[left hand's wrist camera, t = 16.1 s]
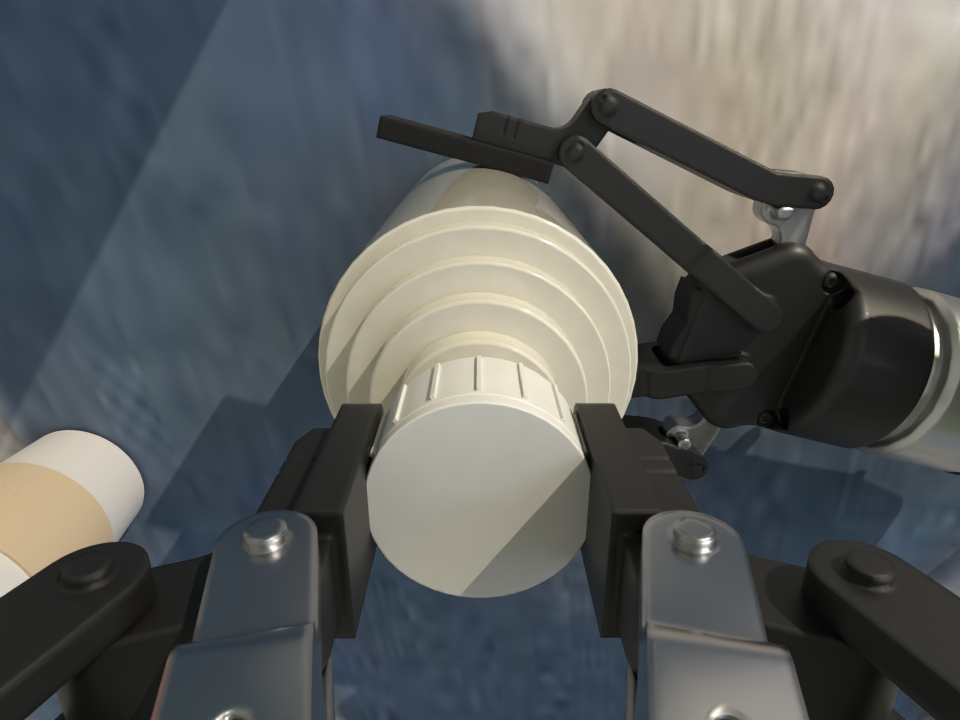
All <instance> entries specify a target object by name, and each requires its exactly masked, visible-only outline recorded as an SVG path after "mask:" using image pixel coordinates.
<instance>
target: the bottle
mask: <svg viewBox="0 0 960 720" xmlns="http://www.w3.org/2000/svg"><path fill="white" fill-rule="evenodd" d="M477 355H481V357H490V358H498V359H503V360H507V361H511V362H514V363H517V364H518V363H519V362H520V363H522V364H523V366H525V367H527V368H529V369H531V370H533V371H534V372H536V373H538V374H539V375H541V376H542V377H543V378H545V379H546V380H548V381H549V382H550V383H551V384H553V383H554V384H556V385H557V388H558V391H559V392H560V394H561V395H562V396H563V397H564V399H565V400H566V402H567V404H568V405H569V407H570V409H571V411H572V413H573V410H574V406H575V404H576V403H614V404H615V405H616V408H617V410H618V412H619V414H620V416H621V419H622V418H623V416H624V414H625V411H626V409H627V406H628V404H629V401H630V399H631V396H632V392H633V388H634V384H635V380H636V373H637V365H638V340H637V334H636V328H635V323H634V319H633V316H632V313H631V309H630V306H629V303H628V301H627V299H626V297H625V295H624V293H623V290H622V288H621V286H620V284H619V283H618V281H617V280H616V278H615V277H614V275H613V274H612V272H611V271H610V269H609V268H608V266H607V265H606V264H605V263H604V262H603V260H602V259H601V258H600V257H599V256H598V254H597V253H596V252H595V251H594V250H593V248H592V247H591V246H590V245H589V244H588V242H587V241H586V240H585V239H584V238H583V236H582V235H581V234H580V233H579V232H578V230H577V229H576V228H575V227H574V226H573V224H572V223H571V222H570V221H569V219H568V218H567V217H566V216H565V215H564V213H563V212H562V211H561V210H560V209H559V207H558V206H557V205H556V204H555V203H554V201H553V200H552V199H551V198H550V197H549V195H548V194H547V193H546V192H545V191H544V189H543V188H542V187H541V186H540V185H539V184H538V182H537V181H536V180H532V179H528V178H525V177H521V176H517V175H514V174H510V173H506V172H503V171H499V170H495V169H491V168H488V167H484V166H480V165H477V164H473V163H469V162H465V161H462V160H458V159H454V158H452V159H449V160H447V161H444V162H442V163H440V164H438V165H437V166H435V167H433V168H432V169H430V170H429V171H428V172H427V173H425V174H424V175H423V176H422V177H421V178H420V179H419V180H418V181H417V182H416V183H415V185H414V186H413V187H412V188H411V190H410V191H409V192H408V193H407V195H406V196H405V197H404V198H403V200H402V201H401V202H400V203H399V205H398V206H397V207H396V208H395V210H394V211H393V212H392V213H391V215H390V216H389V217H388V218H387V220H386V221H385V222H384V223H383V225H382V226H381V227H380V228H379V230H378V231H377V232H376V233H375V235H374V236H373V237H372V238H371V240H370V241H369V242H368V243H367V245H366V246H365V247H364V248H363V250H362V251H361V252H360V253H359V255H358V256H357V257H356V258H355V260H354V261H353V262H352V263H351V265H350V266H349V268H348V269H347V270H346V272H345V273H344V274H343V276H342V277H341V279H340V280H339V282H338V284H337V286H336V288H335V290H334V291H333V293H332V295H331V297H330V299H329V302H328V305H327V308H326V311H325V313H324V316H323V320H322V325H321V330H320V335H319V349H318V361H319V372H320V379H321V383H322V388H323V392H324V396H325V398H326V401H327V403H328V406H329V409H330V411H331V414H332V415H333V417H334V419H335V418H336V416H337V413H338V411H339V409H340V407H341V405H342V404H344V403H381V404H382V407H383V412H384V415H385V416H386V414H387V411H388V409H389V407H390V406H391V404H392V402H393V400H394V399H395V398H396V396H397V395H398V394H399V393H400V390H401V387H402V386H403V385H404V384H405V385H407V384H408V383H409V382H410V381H412V380H413V379H414V378H416V377H417V376H418V375H420V374H421V373H423V372H425V371H427V370H428V369H430V368H432V367H434V366H435V364H437V363H440V364H442V363H445V362H448V361H452V360H456V359H461V358H469V357H477Z"/></svg>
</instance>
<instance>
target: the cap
mask: <svg viewBox="0 0 960 720" xmlns="http://www.w3.org/2000/svg"><path fill="white" fill-rule="evenodd" d="M586 456H587V450H586V447H585V443H584V440H583V437H582V434H581V431H580V427H579V424H578V421H577V418H576V414H574V415H573V413H572V411H571V409H570V407H569V405H568V404H567V402H566V400H565V399H564V397H563V396H562V395H561V394H560V392H559V391H558V388H557V385H556V384H554V383H553V384H551V383H550V382H549V381H548V380H546V379H545V378H543V377H542V376H541V375H539V374H538V373H536V372H534V371H533V370H531V369H529V368H527V367H525V366H523V364H522V363H520V362H519V363H518V364H517V363H514V362H511V361H507V360H503V359H498V358H490V357H481V355H477V357H469V358H461V359H456V360H452V361H448V362H445V363H442V364H440V363H437V364H435V366H434V367H432V368H430V369H428V370H427V371H425V372H423V373H421V374H420V375H418V376H417V377H416V378H414V379H413V380H412V381H410V382H409V383H408V384H407V385H405V384H404V385H403V386H402V387H401V390H400V393H399V394H398V395H397V396H396V398H395V399H394V400H393V402H392V404H391V406H390V407H389V409H388V411H387V414H386V416H385V415H382V417H381V420H380V424H379V427H378V430H377V433H376V436H375V439H374V442H373V446H372V449H371V452H370V457H372V460H371V464H370V467H369V470H368V473H367V477H366V483H367V497H368V509H369V522H370V532H371V535H372V537H373V539H374V541H375V543H376V544H377V546H378V548H379V549H380V551H381V552H382V553H383V554H384V556H385V557H386V558H387V559H388V560H389V561H390V562H391V563H392V564H393V565H394V566H395V567H396V568H397V569H398V570H399V571H401V572H402V573H403V574H405V575H406V576H407V577H409V578H411V579H412V580H414V581H416V582H417V583H419V584H421V585H424V586H426V587H428V588H430V589H433V590H436V591H439V592H442V593H445V594H450V595H455V596H461V597H471V598H488V597H498V596H504V595H509V594H513V593H517V592H520V591H523V590H526V589H529V588H531V587H533V586H535V585H538V584H540V583H542V582H543V581H545V580H547V579H548V578H550V577H552V576H553V575H554V574H556V573H557V572H558V571H560V570H561V569H562V568H563V567H564V566H565V565H566V564H567V563H568V562H569V561H570V560H571V559H572V558H573V557H574V556H575V555H576V553H577V552H578V551H579V549H580V548H581V546H582V545H583V543H584V541H585V539H586V527H587V514H588V501H589V488H590V473H591V472H590V467H589V464H588V461H587V457H586Z"/></svg>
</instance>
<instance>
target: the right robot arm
mask: <svg viewBox="0 0 960 720" xmlns="http://www.w3.org/2000/svg"><path fill="white" fill-rule="evenodd" d="M608 131H609V132H611V133H613V134H615V135H617V136H619V137H621V138H623V139H625V140H627V141H629V142H631V143H633V144H635V145H637V146H639V147H641V148H643V149H645V150H647V151H649V152H651V153H653V154H655V155H657V156H659V157H661V158H663V159H665V160H667V161H669V162H671V163H673V164H675V165H677V166H679V167H681V168H683V169H685V170H687V171H689V172H691V173H693V174H695V175H697V176H699V177H701V178H703V179H705V180H707V181H709V182H711V183H713V184H715V185H717V186H719V187H721V188H723V189H725V190H727V191H730V192H732V193H734V194H737V195H740V196H743V197H746V198H749V199H752V200H754V203H753V214H754V215H755V217H756V218H757V219H758V220H761V221H763V222H766V223H767V224H768V225H769V226H770V228H771V230H772V238H770V239H767V240H764V241H762V242H759V243H756V244H753V245H751V246H748V247H745V248H743V249H740V250H737V251H734V252H732V253H729V254H726V255H724V256H721V255H719V254H718V253H717V252H716V251H715V250H713V249H712V248H711V247H709V246H708V245H707V244H706V243H704V242H703V241H702V240H701V239H700V238H699V237H697V236H696V235H695V234H694V233H693V232H692V231H691V230H689V229H688V228H687V227H686V226H685V225H684V224H683V223H681V222H680V221H679V220H678V219H677V218H676V217H675V216H674V215H672V214H671V213H670V212H669V211H668V210H667V209H666V208H664V207H663V206H662V205H661V204H660V203H659V202H658V201H656V200H655V199H654V198H653V197H652V196H651V195H650V194H648V193H647V192H646V191H645V190H644V189H643V188H642V187H640V186H639V185H638V184H637V183H636V182H635V181H634V180H632V179H631V178H630V177H629V176H628V175H627V174H626V173H624V172H623V171H622V170H621V169H620V168H619V167H618V166H616V165H615V164H614V163H613V162H612V161H611V160H610V159H608V158H607V157H606V156H605V155H604V154H603V153H602V152H600V151H599V150H598V149H597V148H596V147H597V146H598V144H599V143H600V141H601V140H602V139H603V137H604V136H605V134H606V133H607V132H608ZM376 137H377V138H380V139H384V140H388V141H391V142H395V143H399V144H402V145H406V146H410V147H414V148H417V149H421V150H425V151H428V152H432V153H436V154H440V155H443V156H447V157H451V158H454V159H458V160H462V161H465V162H469V163H473V164H477V165H480V166H484V167H488V168H491V169H495V170H499V171H503V172H506V173H510V174H514V175H517V176H521V177H525V178H528V179H532V180H536V181H540V182H543V183H547V184H548V182H549V179H550V175H551V172H552V168H553V165H554V164H557V165H560V166H564V167H565V168H566V169H567V170H568V171H570V172H571V173H572V174H573V175H574V176H575V177H577V178H578V179H579V180H580V181H581V182H583V183H584V184H585V185H586V186H587V187H588V188H590V189H591V190H592V191H593V192H594V193H595V194H597V195H598V196H599V197H600V198H601V199H602V200H604V201H605V202H606V203H607V204H608V205H609V206H611V207H612V208H613V209H614V210H615V211H616V212H618V213H619V214H620V215H621V216H622V217H624V218H625V219H626V220H627V221H628V222H629V223H631V224H632V225H633V226H634V227H635V228H636V229H638V230H639V231H640V232H641V233H642V234H643V235H645V236H646V237H647V238H648V239H649V240H650V241H652V242H653V243H654V244H655V245H656V246H657V247H659V248H660V249H661V250H662V251H663V252H665V253H666V254H667V255H668V256H669V257H670V258H671V259H672V260H674V261H675V262H676V263H677V264H678V265H679V266H681V267H682V268H683V269H684V270H685V271H687V272H688V273H689V274H688V275H687V276H686V277H682V276H681V278H680V281H679V283H678V286H677V288H676V291H675V296H674V305H673V311H672V313H671V314H670V315H669V317H668V318H667V320H666V321H665V322H664V324H663V325H662V327H661V330H660V333H659V335H658V338H657V340H656V342H650V343H644V344H638V365H637V373H636V380H635V384H634V388H633V392H632V396H631V398H633V397H640V396H647V397H650V398H653V399H664V398H671V397H678V396H685V395H687V397H688V398H689V399H690V400H691V402H692V403H693V404H694V406H695V407H696V408H697V411H696V412H695V413H694V414H692V415H691V416H688V417H676V416H675V417H674V416H672V415H670V416H667V417H666V418H665V419H664V422H661V421H658V420H656V419H652V418H647V417H640V416H629V415H624V416H623V418H622V421H623V423H624V425H625V427H626V428H643V429H644V430H646V431H647V432H648V433H650V434H651V435H653V436H654V437H655V438H657V439H658V440H659V441H661V443H662V445H663V446H664V448H665V450H666V452H667V454H668V456H669V457H670V458H669V459H670V461H672V463H673V465H674V467H675V469H676V470H677V474H679V475H680V476H683V477H685V478H688V479H692V480H693V479H698V478H700V477H702V476H703V475H704V474H705V473H706V472H707V470H708V463H707V462H706V460H705V458H704V457H703V455H704V453H705V452H706V450H707V449H708V447H709V446H710V444H711V443H712V441H713V440H714V438H715V437H716V435H717V434H718V432H719V431H720V429H721V428H732V427H737V426H741V425H757V426H761V427H764V428H767V429H770V430H774V431H777V432H781V433H785V434H789V435H793V436H797V437H802V438H806V439H810V440H814V441H818V442H822V443H827V444H831V445H835V446H839V447H845V448H855V449H857V450H859V451H861V452H863V453H866V454H871V455H875V456H880V457H884V458H889V459H893V460H897V461H902V462H906V463H911V464H915V465H920V466H924V467H928V468H933V469H937V470H942V471H945V472H948V473H952V474H956V475H960V298H957V297H953V296H950V295H946V294H943V293H939V292H935V291H932V290H927V289H923V288H919V287H912V288H911V287H910V286H908V285H906V284H905V283H902V282H899V281H895V280H892V279H888V278H884V277H880V276H877V275H873V274H869V273H866V272H862V271H858V270H854V269H851V268H847V267H843V266H839V265H836V264H832V263H828V262H825V261H821V260H820V259H819V258H818V257H817V256H816V255H815V254H814V253H813V252H812V250H811V249H810V248H808V247H807V246H805V243H806V239H807V236H808V232H809V228H810V225H811V221H812V217H813V214H814V210H815V209H820V208H822V207H824V206H826V205H827V204H828V203H829V202H830V200H831V198H832V196H833V193H834V187H833V184H832V182H831V181H830V180H829V179H828V178H825V177H821V176H816V175H811V174H806V173H801V172H796V171H790V170H778V169H769V168H767V167H765V166H763V165H761V164H760V163H758V162H756V161H754V160H752V159H750V158H748V157H746V156H744V155H742V154H740V153H738V152H736V151H734V150H732V149H730V148H728V147H726V146H725V145H723V144H721V143H719V142H717V141H715V140H713V139H711V138H709V137H707V136H705V135H703V134H701V133H699V132H697V131H695V130H693V129H691V128H689V127H688V126H686V125H684V124H682V123H680V122H678V121H676V120H674V119H672V118H670V117H668V116H666V115H664V114H662V113H660V112H658V111H656V110H654V109H653V108H651V107H649V106H647V105H645V104H643V103H641V102H639V101H637V100H635V99H633V98H631V97H629V96H627V95H625V94H623V93H621V92H619V91H618V90H615V89H611V88H609V89H600V90H596V91H592V92H590V93H589V94H587V95H586V97H585V98H584V99H583V102H582V105H581V106H580V107H579V109H578V110H577V112H576V113H575V115H574V116H573V118H572V119H571V120H570V121H569V122H568V123H567V124H565V125H564V126H561V127H557V128H552V127H547V126H544V125H540V124H536V123H533V122H529V121H526V120H522V119H518V118H515V117H511V116H508V115H504V114H501V113H497V112H493V111H490V112H482V113H478V116H477V120H476V125H475V129H474V133H473V137H468V136H465V135H461V134H457V133H454V132H450V131H446V130H443V129H439V128H435V127H432V126H428V125H424V124H421V123H417V122H413V121H410V120H406V119H403V118H399V117H395V116H392V115H386V116H380V120H379V125H378V131H377V136H376Z"/></svg>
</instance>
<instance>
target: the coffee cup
mask: <svg viewBox="0 0 960 720" xmlns="http://www.w3.org/2000/svg"><path fill="white" fill-rule="evenodd" d="M143 500H144V485H143V481H142V478H141V475H140V473H139V471H138V469H137V467H136V466H135V464H134V463H133V461H132V460H131V459H130V458H129V457H128V456H127V455H126V454H125V453H124V452H123V451H122V450H121V449H120V448H119V447H117V446H116V445H114V444H113V443H111V442H110V441H108V440H106V439H104V438H102V437H100V436H97V435H94V434H91V433H88V432H83V431H77V430H63V431H57V432H53V433H50V434H47V435H45V436H43V437H42V438H40V439H38V440H37V441H35V442H34V443H32V444H30V445H29V446H27V447H25V448H24V449H22V450H21V451H19V452H17V453H16V454H14V455H13V456H11V457H9V458H8V459H6V460H5V461H3V462H1V463H0V597H2V596H3V595H5V594H6V593H8V592H9V591H11V590H12V589H14V588H15V587H17V586H18V585H20V584H21V583H23V582H24V581H26V580H27V579H29V578H30V577H32V576H33V575H35V574H36V573H38V572H39V571H41V570H42V569H44V568H45V567H47V566H48V565H50V564H51V563H53V562H54V561H56V560H58V559H59V558H61V557H63V556H65V555H67V554H69V553H72V552H74V551H77V550H79V549H82V548H85V547H88V546H92V545H96V544H100V543H107V542H118V541H119V539H120V538H121V537H122V535H123V534H124V532H125V531H126V529H127V528H128V527H129V525H130V524H131V522H132V521H133V519H134V518H135V517H136V515H137V514H138V512H139V511H140V509H141V507H142V504H143Z"/></svg>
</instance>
